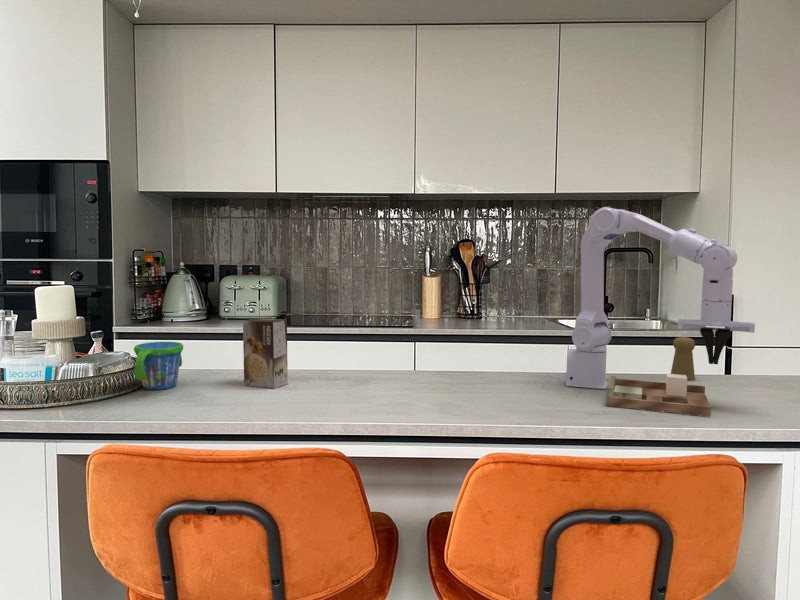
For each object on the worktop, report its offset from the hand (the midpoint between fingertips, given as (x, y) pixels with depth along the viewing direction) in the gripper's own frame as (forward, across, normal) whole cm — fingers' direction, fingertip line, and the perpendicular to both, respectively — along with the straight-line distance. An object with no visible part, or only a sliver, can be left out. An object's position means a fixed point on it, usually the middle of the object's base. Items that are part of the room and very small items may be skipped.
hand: (713, 363), depth 127 cm
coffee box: (+10, -99, -24) cm, 102 cm away
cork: (+10, -4, +30) cm, 32 cm away
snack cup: (+10, -120, -37) cm, 126 cm away
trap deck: (+9, -11, -3) cm, 15 cm away
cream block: (+7, -7, 0) cm, 10 cm away
